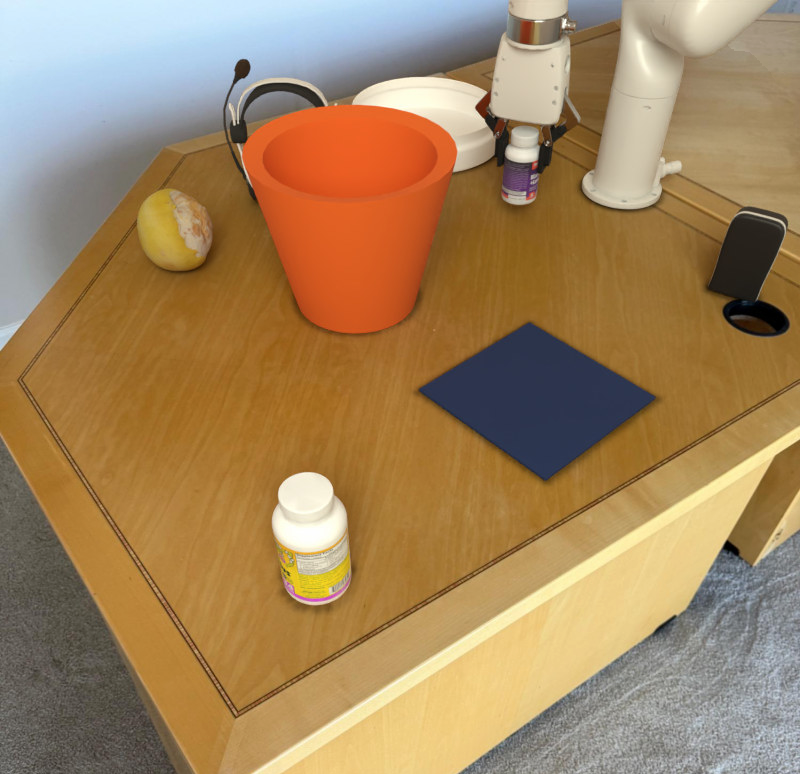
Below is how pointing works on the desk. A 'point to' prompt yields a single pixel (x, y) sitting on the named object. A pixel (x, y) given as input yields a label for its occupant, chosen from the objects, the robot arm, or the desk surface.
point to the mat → (537, 399)
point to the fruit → (174, 230)
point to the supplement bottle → (312, 539)
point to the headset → (262, 87)
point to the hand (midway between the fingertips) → (521, 165)
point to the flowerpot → (352, 207)
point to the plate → (440, 112)
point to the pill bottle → (521, 166)
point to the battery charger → (748, 253)
